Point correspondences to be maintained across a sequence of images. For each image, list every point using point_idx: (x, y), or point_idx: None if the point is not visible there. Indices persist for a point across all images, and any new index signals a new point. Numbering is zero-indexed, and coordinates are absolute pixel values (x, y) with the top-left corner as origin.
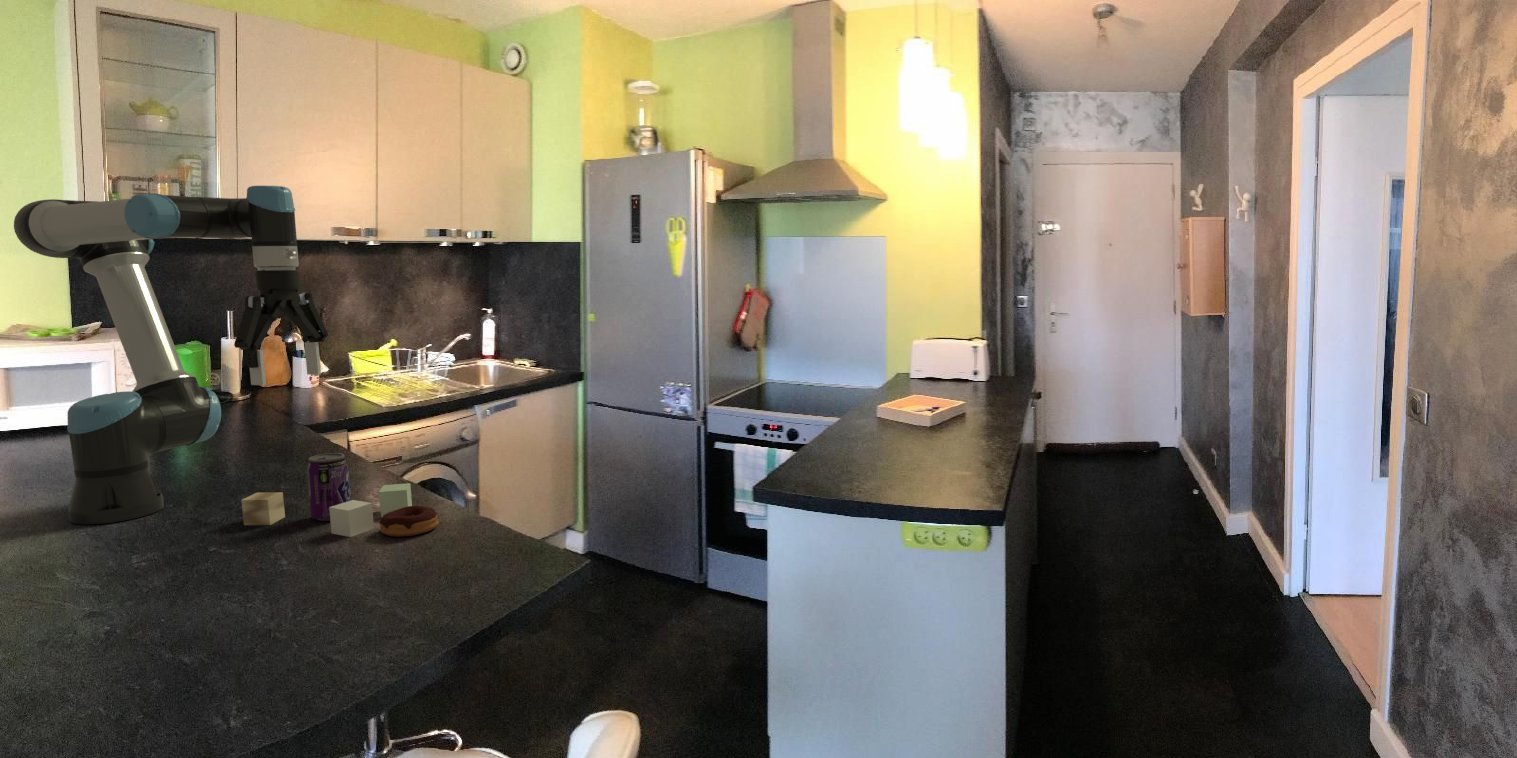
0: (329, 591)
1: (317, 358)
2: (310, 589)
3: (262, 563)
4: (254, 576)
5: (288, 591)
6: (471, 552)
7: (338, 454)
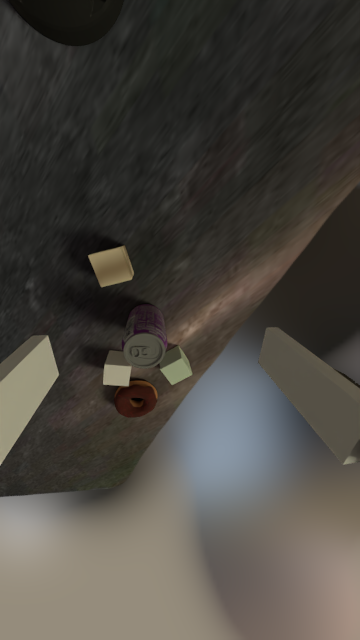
0: None
1: (291, 399)
2: None
3: None
4: None
5: None
6: (112, 444)
7: (162, 352)
